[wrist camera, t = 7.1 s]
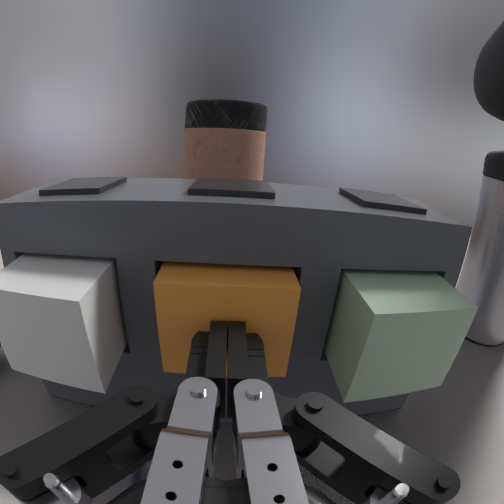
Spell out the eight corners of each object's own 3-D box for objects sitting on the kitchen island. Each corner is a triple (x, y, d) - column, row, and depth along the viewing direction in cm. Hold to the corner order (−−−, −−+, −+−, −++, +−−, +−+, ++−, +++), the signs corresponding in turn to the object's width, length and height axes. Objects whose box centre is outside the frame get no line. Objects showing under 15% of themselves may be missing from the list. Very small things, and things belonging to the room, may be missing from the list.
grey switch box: (371, 353, 25) (412, 194, 20) (401, 407, 18) (473, 221, 13) (81, 341, 23) (54, 177, 18) (49, 394, 16) (-7, 198, 11)
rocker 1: (140, 314, 18) (132, 239, 16) (105, 393, 12) (79, 301, 10) (62, 305, 18) (49, 236, 16) (12, 369, 11) (-20, 286, 9)
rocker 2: (392, 319, 19) (411, 253, 17) (440, 385, 13) (477, 307, 11) (312, 321, 19) (326, 248, 17) (343, 402, 12) (374, 314, 11)
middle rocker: (271, 304, 21) (278, 234, 19) (285, 376, 14) (301, 288, 12) (183, 301, 20) (181, 230, 18) (163, 371, 14) (153, 281, 12)
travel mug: (229, 327, 28) (242, 97, 21) (168, 302, 31) (168, 102, 24) (265, 294, 34) (281, 109, 27) (209, 277, 37) (216, 109, 30)
